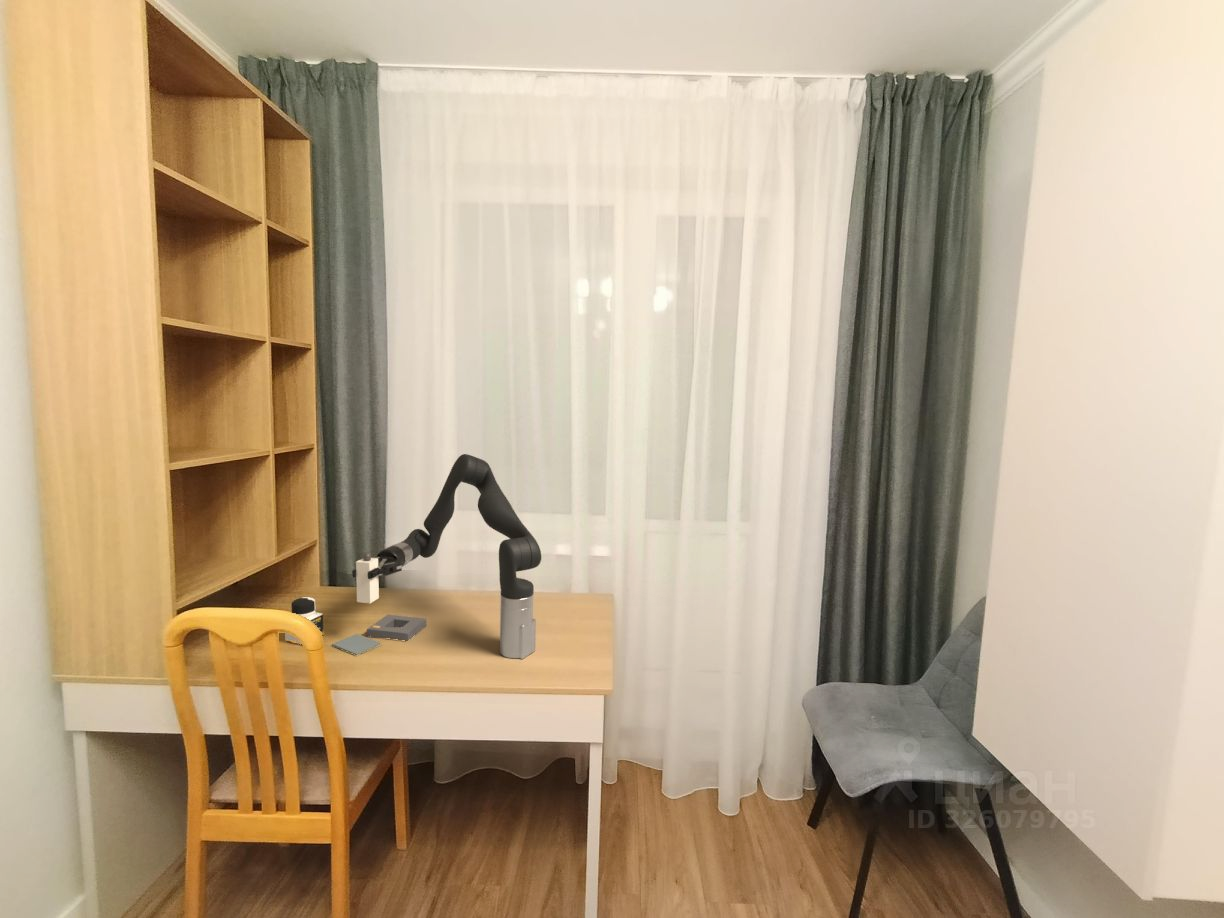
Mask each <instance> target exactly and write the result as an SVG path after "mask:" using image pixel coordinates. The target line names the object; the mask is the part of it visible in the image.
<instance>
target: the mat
mask: <svg viewBox="0 0 1224 918" xmlns="http://www.w3.org/2000/svg"><path fill="white" fill-rule="evenodd" d="M380 644H381V645H382V642H380V641H377V640H375V639H373V638H370V637H367V636H364V635H362V634H361V635H360V634H358V633H356V634H352V635H351V636H348V637H346V638H343V639H341V640H337V641H335V642H333V643H332V644H331V646H332V647H333V646H334V647H333V648H336V647H338V648H340V649H339V650H341V649H343V650H345V651H348V652H350V653H353V654H355V655H358V654H360V653H362V652H365V651H367V650H369V649H371V648H374V647H376V646H378V645H380ZM378 647H379V646H378ZM338 648H337V649H338ZM376 648H377V647H376ZM374 649H375V648H374ZM343 650H342V651H343ZM345 651H344V652H345ZM369 651H370V650H369ZM348 652H347V653H348ZM367 652H368V651H367ZM350 653H349V654H350ZM365 653H366V652H365ZM353 654H352V655H353ZM355 655H354V656H355ZM358 656H359V655H358Z"/></svg>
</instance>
